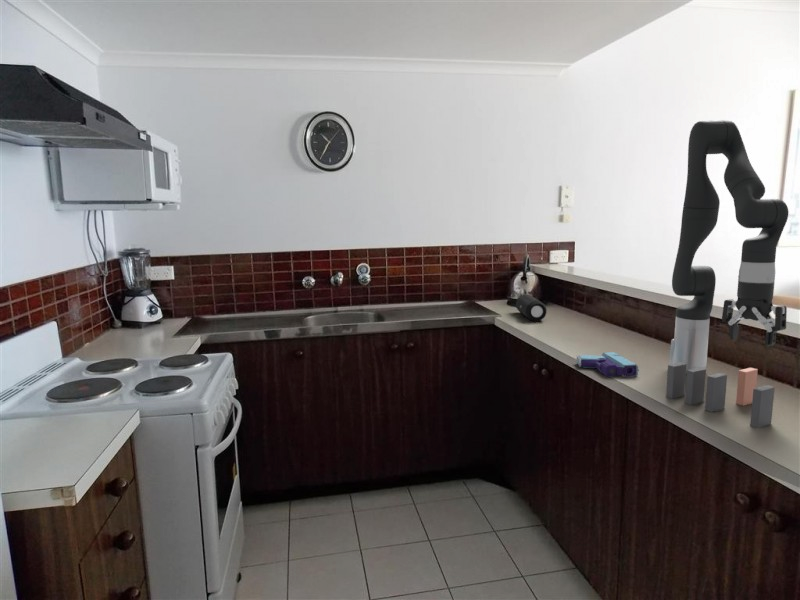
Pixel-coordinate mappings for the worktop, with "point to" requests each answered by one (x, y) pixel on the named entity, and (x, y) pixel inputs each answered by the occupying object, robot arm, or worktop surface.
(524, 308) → the portable speaker
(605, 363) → the pistol
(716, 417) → the worktop surface
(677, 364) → the domino
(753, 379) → the domino
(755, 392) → the domino
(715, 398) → the domino
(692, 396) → the domino
